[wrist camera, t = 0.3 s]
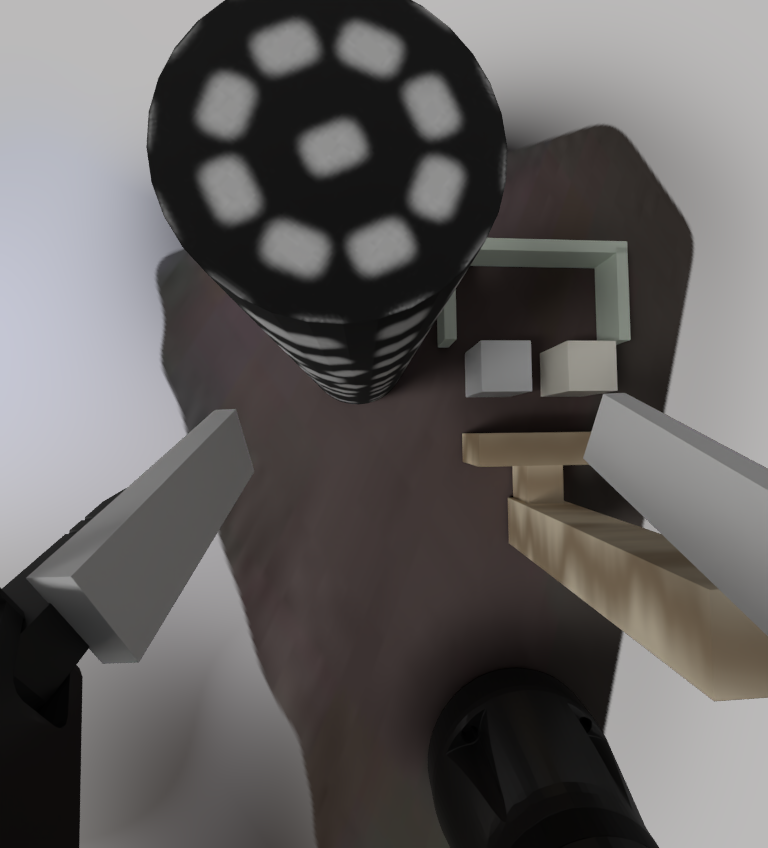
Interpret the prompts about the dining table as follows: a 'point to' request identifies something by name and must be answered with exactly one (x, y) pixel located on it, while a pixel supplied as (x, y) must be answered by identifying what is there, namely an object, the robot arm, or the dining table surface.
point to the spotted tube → (330, 174)
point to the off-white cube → (578, 369)
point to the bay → (560, 254)
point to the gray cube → (498, 368)
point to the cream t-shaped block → (624, 568)
